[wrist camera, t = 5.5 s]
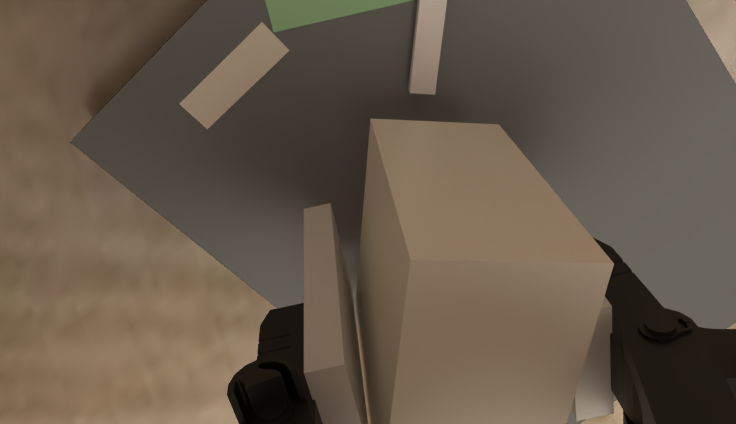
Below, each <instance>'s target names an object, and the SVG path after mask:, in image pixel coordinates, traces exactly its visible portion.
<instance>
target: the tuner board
mask: <svg viewBox="0 0 736 424" xmlns="http://www.w3.org/2000/svg"><path fill="white" fill-rule="evenodd" d="M417 4H418V0H206V1H205V2H204V3H203V5H202V6H201V7H200V8H199V9H198V10H197V11H196V12H195V13H194V14H193V15H192V16H191V17H190V18H189V19H188V20H187V21H186V22H185V23H184V24H183V25H182V26H181V27H180V28H179V29H178V30H177V31H176V32H175V33H174V35H173V36H172V37H171V38H170V39H169V40H168V41H167V42H166V43H165V44H164V45H163V46H162V47H161V48H160V49H159V50H158V51H157V52H156V53H155V54H154V55H153V56H152V57H151V58H150V59H149V60H148V61H147V62H146V63H145V64H144V66H143V67H142V68H141V69H140V70H139V71H138V72H137V73H136V74H135V75H134V76H133V77H132V78H131V79H130V80H129V81H128V82H127V83H126V84H125V85H124V86H123V87H122V88H121V89H120V90H119V91H118V92H117V93H116V94H115V96H114V97H113V98H112V99H111V100H110V101H109V102H108V103H107V104H106V105H105V106H104V107H103V108H102V109H101V110H100V111H99V112H98V113H97V114H96V115H95V116H94V117H93V118H92V119H91V120H90V121H89V122H88V124H87V125H86V126H85V127H84V128H83V129H82V130H81V131H80V132H79V133H78V134H77V135H76V136H75V137H74V138H73V140H72V141H71V142H70V143H72V144H73V145H74V146H75V147H77V148H78V149H79V150H80V151H82V152H83V153H84V154H85V155H87V156H88V157H89V158H90V159H92V160H93V161H94V162H95V163H97V164H98V165H99V166H100V167H101V168H103V169H104V170H105V171H106V172H108V173H109V174H110V175H111V176H113V177H114V178H115V179H116V180H118V181H119V182H120V183H121V184H123V185H124V186H125V187H126V188H128V189H129V190H130V191H131V192H133V193H134V194H135V195H136V196H138V197H139V198H140V199H141V200H143V201H144V202H145V203H146V204H148V205H149V206H150V207H151V208H153V209H154V210H155V211H156V212H158V213H159V214H160V215H161V216H163V217H164V218H165V219H166V220H168V221H169V222H170V223H171V224H173V225H174V226H175V227H176V228H178V229H179V230H180V231H181V232H183V233H184V234H185V235H186V236H188V237H189V238H190V239H191V240H193V241H194V242H195V243H196V244H198V245H199V246H200V247H201V248H203V249H204V250H205V251H206V252H208V253H209V254H210V255H211V256H213V257H214V258H215V259H216V260H218V261H219V262H220V263H221V264H222V265H224V266H225V267H226V268H227V269H229V270H230V271H231V272H232V273H234V274H235V275H236V276H237V277H239V278H240V279H241V280H242V281H244V282H245V283H246V284H247V285H249V286H250V287H251V288H252V289H254V290H255V291H256V292H257V293H259V294H260V295H261V296H262V297H264V298H265V299H266V300H267V301H269V302H270V303H271V304H272V305H274V306H275V307H276V308H282V307H287V306H291V305H296V304H300V303H304V209H306V208H311V207H315V206H320V205H324V204H329V203H331V206H332V210H333V214H334V218H335V222H336V226H337V230H338V234H339V237H340V241H341V245H342V249H343V253H344V257H345V261H346V265H347V269H348V272H349V276H350V280H351V285H352V293H353V302H354V310H355V300H356V287H357V275H358V263H359V251H360V239H361V227H362V215H363V203H364V191H365V179H366V167H367V154H368V142H369V130H370V119H392V120H413V121H435V122H457V123H479V124H499V125H500V126H501V128H502V129H503V130H504V131H505V132H506V134H507V135H508V136H509V137H510V138H511V140H512V141H513V142H514V143H515V144H516V146H517V147H518V148H519V149H520V151H521V152H522V153H523V154H524V155H525V157H526V158H527V159H528V160H529V161H530V163H531V164H532V165H533V166H534V167H535V169H536V170H537V171H538V172H539V173H540V175H541V176H542V177H543V178H544V180H545V181H546V182H547V183H548V184H549V186H550V187H551V188H552V189H553V190H554V192H555V193H556V194H557V195H558V196H559V198H560V199H561V200H562V201H563V202H564V204H565V205H566V206H567V207H568V209H569V210H570V211H571V212H572V213H573V215H574V216H575V217H576V218H577V219H578V221H579V222H580V223H581V224H582V225H583V227H584V228H585V229H586V230H587V232H588V233H589V234H590V235H591V236H592V238H595V239H597V240H599V241H601V242H603V243H605V244H607V245H609V246H611V247H612V248H613V249H614V250H615V251H616V252H617V254H618V255H619V256H620V257H621V258H622V259H623V262H625V263H626V264H627V265H628V266H629V268H630V269H631V270H632V273H635V275H636V276H637V277H638V278H639V279H640V280H641V282H642V283H643V284H644V285H645V286H646V287H647V289H648V290H649V291H650V292H651V293H652V294H653V296H654V297H655V298H656V299H657V300H658V302H659V303H660V304H661V305H662V306H663V307H664V308H667V309H671V310H674V311H678V312H681V313H682V314H684V315H686V316H688V317H689V318H691V319H692V320H693V321H694V322H695V324H696V325H697V326H698V327H702V328H710V329H727V328H728V327H730V326H731V325H733V324H734V323H736V84H735V82H734V80H733V79H732V77H731V75H730V74H729V72H728V70H727V69H726V67H725V65H724V64H723V62H722V60H721V59H720V57H719V55H718V54H717V52H716V50H715V49H714V47H713V45H712V43H711V42H710V40H709V38H708V37H707V35H706V33H705V32H704V30H703V28H702V27H701V25H700V23H699V22H698V20H697V18H696V17H695V15H694V13H693V12H692V10H691V8H690V7H689V5H688V3H687V2H686V0H447V5H446V13H445V21H444V29H443V36H442V44H441V52H440V60H439V67H438V75H437V83H436V91H435V95H434V94H414V93H409V91H408V86H409V77H410V68H411V59H412V50H413V40H414V31H415V22H416V13H417ZM616 400H617V398H616V397H615V395H614V394H613V402H614V401H616ZM585 420H586V419H585ZM585 420H580V421H576V419H575V417H574V415H573V413H572V411H571V409H570V413H569V416H568V419H567V423H566V424H580V423H582V422H583V421H585Z"/></svg>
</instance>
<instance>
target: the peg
mask: <svg viewBox="0 0 736 424" xmlns="http://www.w3.org/2000/svg"><path fill="white" fill-rule="evenodd" d="M446 5H447V0H418V4H417V13H416V22H415V31H414V40H413V50H412V59H411V68H410V77H409V86H408V91H409V93H414V94H434V95H435V91H436V83H437V75H438V67H439V60H440V52H441V44H442V36H443V29H444V21H445V13H446ZM613 266H614V263H613V262H612V261H611V259H610V258H609V257H608V256H607V254H606V253H605V252H604V251H603V250H602V248H601V247H600V246H599V245H598V244H597V242H596V241H595V240H594V239H593V238H592V236H591V235H590V234H589V233H588V232H587V230H586V229H585V228H584V227H583V225H582V224H581V223H580V222H579V221H578V219H577V218H576V217H575V216H574V215H573V213H572V212H571V211H570V210H569V209H568V207H567V206H566V205H565V204H564V202H563V201H562V200H561V199H560V198H559V196H558V195H557V194H556V193H555V192H554V190H553V189H552V188H551V187H550V186H549V184H548V183H547V182H546V181H545V180H544V178H543V177H542V176H541V175H540V173H539V172H538V171H537V170H536V169H535V167H534V166H533V165H532V164H531V163H530V161H529V160H528V159H527V158H526V157H525V155H524V154H523V153H522V152H521V151H520V149H519V148H518V147H517V146H516V144H515V143H514V142H513V141H512V140H511V138H510V137H509V136H508V135H507V134H506V132H505V131H504V130H503V129H502V128H501V126H500V125H499V124H479V123H457V122H435V121H413V120H392V119H370V130H369V142H368V154H367V167H366V179H365V191H364V203H363V215H362V227H361V239H360V251H359V263H358V275H357V287H356V300H355V318H356V326H357V335H358V343H359V351H360V359H361V368H362V376H363V384H364V393H365V401H366V409H367V417H368V424H566V423H567V419H568V416H569V413H570V409H571V406H572V403H573V399H574V396H575V393H576V389H577V386H578V383H579V379H580V376H581V373H582V369H583V366H584V363H585V359H586V356H587V353H588V349H589V346H590V343H591V339H592V336H593V333H594V329H595V326H596V323H597V319H598V316H599V313H600V309H601V306H602V303H603V299H604V296H605V293H606V289H607V286H608V283H609V279H610V276H611V273H612V269H613Z"/></svg>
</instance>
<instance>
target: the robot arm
mask: <svg viewBox="0 0 736 424" xmlns="http://www.w3.org/2000/svg"><path fill="white" fill-rule="evenodd" d="M593 239H594V240H595V241H596V242H597V244H598V245H599V246H600V247H601V248H602V250H603V251H604V252H605V253H606V254H607V256H608V257H609V258H610V259H611V261H612V262H613V263H614V266H613V269H612V273H611V276H610V279H609V283H608V286H607V289H606V293H605V296H604V299H603V303H602V306H601V309H600V313H599V316H598V319H597V323H596V326H595V329H594V333H593V336H592V339H591V343H590V346H589V349H588V353H587V356H586V359H585V363H584V366H583V369H582V373H581V376H580V379H579V383H578V386H577V389H576V393H575V396H574V399H573V403H572V406H571V411H572V413H573V415H574V417H575V419H576V421H580V420H585V419H590V418H594V417H599V416H604V415H608V414H613V394H614V395H615V397H616V398H617V400H618V402H619V403H620V405H621V407H622V408H623V424H736V329H710V328H702V327H698V326H697V325H696V324H695V322H694V321H693V320H692V319H691V318H689V317H688V316H686V315H684V314H682V313H681V312H678V311H674V310H671V309H667V308H664V307H663V306H662V305H661V304H660V303H659V302H658V300H657V299H656V298H655V297H654V296H653V294H652V293H651V292H650V291H649V290H648V289H647V287H646V286H645V285H644V284H643V283H642V282H641V280H640V279H639V278H638V277H637V276H636V275H635V273H632V270H631V269H630V268H629V266H628V265H627V264H626V263H625V262H623V259H622V258H621V257H620V256H619V255H618V254H617V252H616V251H615V250H614V249H613V248H612V247H611V246H609V245H607V244H605V243H603V242H601V241H599V240H597V239H595V238H593ZM227 396H228V398H229V401H230V403H231V405H232V408H233V410H234V413H235V415H236V417H237V420H238V422H239V424H368V417H367V409H366V401H365V393H364V384H363V376H362V368H361V359H360V351H359V343H358V335H357V326H356V318H355V310H354V302H353V293H352V285H351V280H350V276H349V272H348V269H347V265H346V261H345V257H344V253H343V249H342V245H341V241H340V237H339V234H338V230H337V226H336V222H335V218H334V214H333V210H332V206H331V203H329V204H324V205H320V206H315V207H311V208H306V209H304V303H300V304H296V305H291V306H287V307H282V308H277V309H273V310H270V311H269V313H268V314H267V316H266V317H265V319H264V321H263V322H262V324H261V325H260V334H259V344H258V356H257V360H256V361H254V362H252V363H250V364H248V365H246V366H244V367H243V368H242V369H241V370H240V371H238V372H237V373H236V374H235V375H234V377H233V378H232V380H231V381H230V383H229V385H228V392H227Z"/></svg>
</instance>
